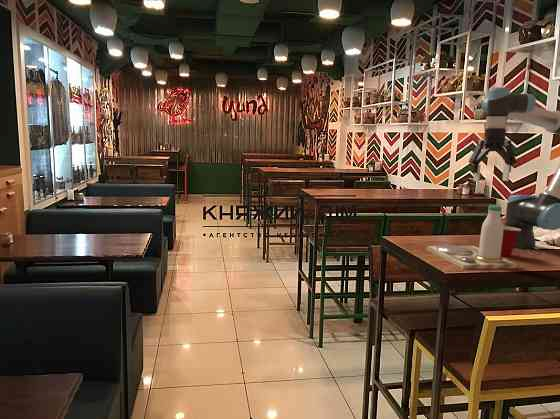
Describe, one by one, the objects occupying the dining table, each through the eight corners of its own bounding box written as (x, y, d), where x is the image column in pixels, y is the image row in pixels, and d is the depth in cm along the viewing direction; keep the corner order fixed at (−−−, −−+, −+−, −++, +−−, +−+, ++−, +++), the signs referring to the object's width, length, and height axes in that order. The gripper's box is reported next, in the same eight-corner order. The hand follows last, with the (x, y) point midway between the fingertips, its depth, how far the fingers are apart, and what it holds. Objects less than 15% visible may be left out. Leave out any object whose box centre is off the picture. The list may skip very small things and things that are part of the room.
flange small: (470, 259, 182) (470, 257, 181) (478, 262, 177) (478, 260, 177) (458, 259, 181) (458, 257, 180) (465, 262, 176) (466, 260, 176)
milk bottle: (501, 260, 178) (508, 208, 174) (479, 258, 180) (485, 206, 176) (498, 255, 185) (504, 205, 182) (477, 253, 187) (483, 203, 184)
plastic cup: (522, 256, 196) (526, 227, 194) (510, 259, 190) (513, 230, 188) (496, 250, 205) (500, 222, 203) (484, 253, 198) (487, 225, 196)
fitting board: (473, 249, 204) (473, 245, 204) (516, 268, 177) (517, 264, 177) (426, 249, 200) (426, 246, 200) (463, 268, 173) (463, 264, 173)
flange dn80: (492, 255, 188) (492, 253, 188) (508, 262, 179) (509, 260, 178) (469, 255, 186) (469, 254, 186) (484, 263, 177) (485, 261, 177)
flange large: (460, 246, 202) (460, 244, 202) (479, 255, 188) (479, 253, 188) (429, 246, 199) (430, 244, 199) (447, 255, 186) (447, 253, 186)
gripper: (515, 128, 194) (510, 179, 198) (462, 127, 188) (458, 180, 192) (529, 128, 187) (523, 181, 191) (474, 127, 181) (469, 182, 185)
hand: (490, 181), depth 192 cm, fingers open, 13 cm apart
